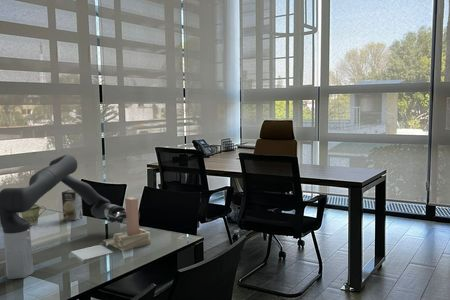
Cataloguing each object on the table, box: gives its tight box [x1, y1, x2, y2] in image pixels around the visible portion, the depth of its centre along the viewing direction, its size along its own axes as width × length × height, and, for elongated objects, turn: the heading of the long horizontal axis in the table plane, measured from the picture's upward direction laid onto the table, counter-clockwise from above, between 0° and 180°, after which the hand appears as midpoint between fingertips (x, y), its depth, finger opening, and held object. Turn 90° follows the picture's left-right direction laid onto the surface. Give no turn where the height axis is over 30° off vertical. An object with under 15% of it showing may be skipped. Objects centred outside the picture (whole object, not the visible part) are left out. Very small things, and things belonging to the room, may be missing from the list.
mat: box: [70, 244, 113, 264], centre depth 183 cm, size 14×13×2 cm
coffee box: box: [61, 189, 83, 221], centre depth 248 cm, size 9×6×16 cm
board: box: [124, 196, 140, 236], centre depth 194 cm, size 6×3×20 cm, turn 39°
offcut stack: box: [112, 232, 128, 248], centre depth 191 cm, size 8×4×4 cm, turn 39°
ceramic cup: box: [20, 203, 46, 226], centre depth 240 cm, size 13×10×10 cm
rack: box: [102, 227, 151, 251], centre depth 196 cm, size 20×14×6 cm
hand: (130, 218), depth 196 cm, fingers open, 8 cm apart
